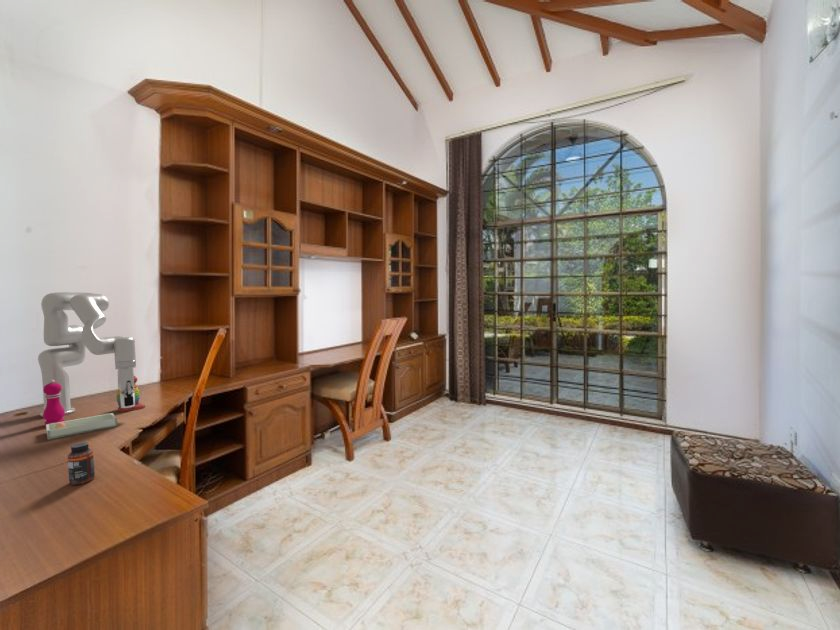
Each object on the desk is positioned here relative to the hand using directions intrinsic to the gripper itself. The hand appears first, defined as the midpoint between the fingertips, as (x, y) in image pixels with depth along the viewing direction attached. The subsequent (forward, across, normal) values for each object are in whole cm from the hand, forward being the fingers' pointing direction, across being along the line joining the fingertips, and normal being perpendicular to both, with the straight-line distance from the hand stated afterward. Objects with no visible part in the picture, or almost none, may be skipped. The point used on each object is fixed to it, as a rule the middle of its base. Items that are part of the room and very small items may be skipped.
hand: (127, 404), depth 180 cm
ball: (+5, -2, -23) cm, 23 cm away
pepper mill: (+7, -18, -24) cm, 31 cm away
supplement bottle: (+8, +64, -21) cm, 68 cm away
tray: (+7, +1, -16) cm, 18 cm away
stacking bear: (+8, -23, +4) cm, 25 cm away
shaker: (+1, 0, 0) cm, 1 cm away
